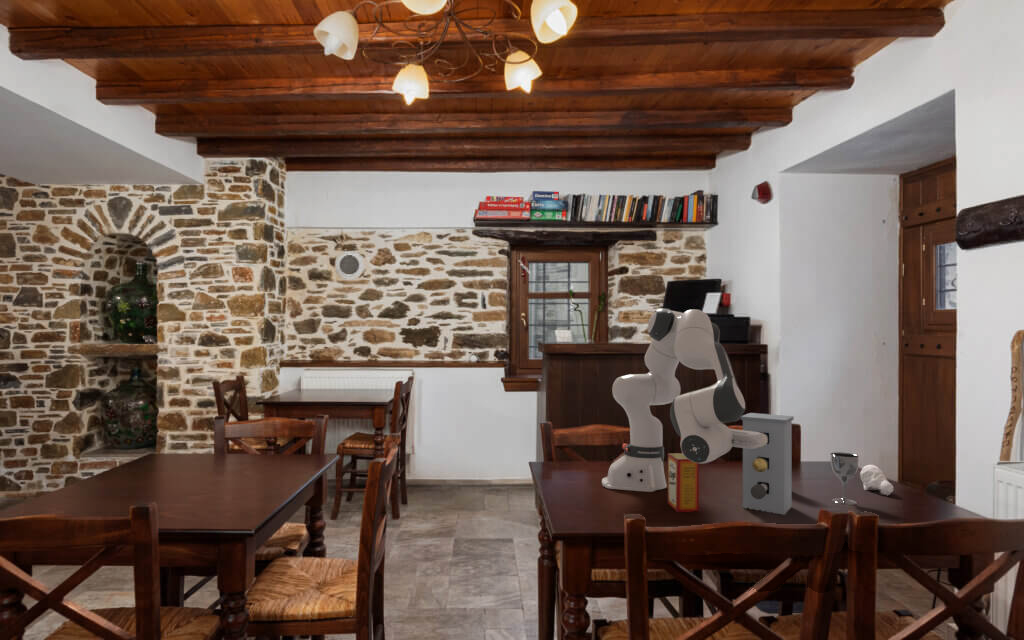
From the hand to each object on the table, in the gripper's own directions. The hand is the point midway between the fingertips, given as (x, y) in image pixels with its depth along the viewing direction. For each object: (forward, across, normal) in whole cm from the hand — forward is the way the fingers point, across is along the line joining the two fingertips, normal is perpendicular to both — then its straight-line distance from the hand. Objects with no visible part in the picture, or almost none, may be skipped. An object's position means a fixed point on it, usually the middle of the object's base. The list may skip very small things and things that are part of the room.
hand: (730, 431), depth 177 cm
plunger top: (+17, -5, +6) cm, 19 cm away
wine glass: (+44, -24, +26) cm, 56 cm away
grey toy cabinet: (+22, -6, +26) cm, 34 cm away
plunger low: (+15, -5, +21) cm, 26 cm away
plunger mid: (+17, -5, +13) cm, 22 cm away
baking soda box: (+6, +16, +26) cm, 31 cm away
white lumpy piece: (+65, -32, +26) cm, 76 cm away
